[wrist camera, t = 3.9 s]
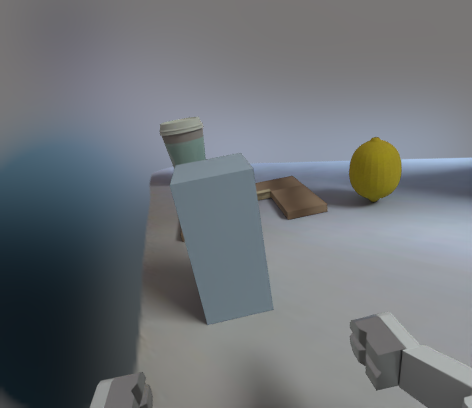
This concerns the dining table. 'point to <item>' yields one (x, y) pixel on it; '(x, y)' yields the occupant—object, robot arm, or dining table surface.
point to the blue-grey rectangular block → (223, 235)
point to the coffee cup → (184, 140)
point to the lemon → (375, 169)
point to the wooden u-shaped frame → (289, 197)
